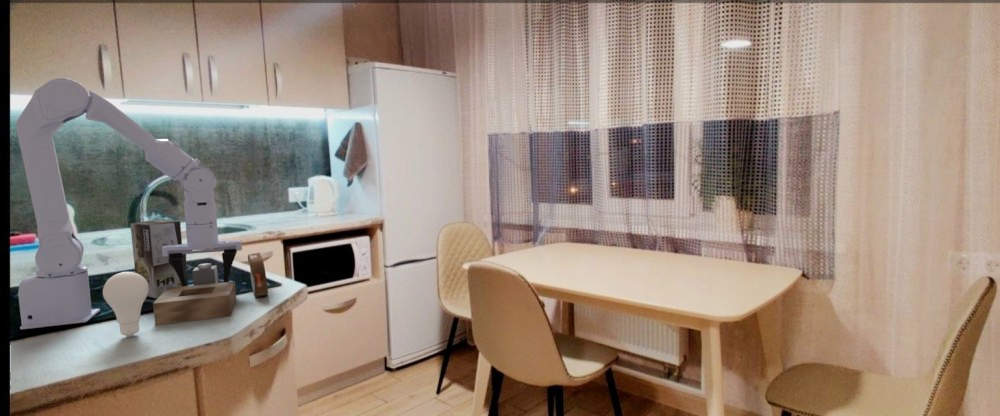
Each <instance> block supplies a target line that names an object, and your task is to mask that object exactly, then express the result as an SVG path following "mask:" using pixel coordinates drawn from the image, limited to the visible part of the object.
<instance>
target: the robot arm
mask: <svg viewBox="0 0 1000 416" xmlns="http://www.w3.org/2000/svg"><path fill="white" fill-rule="evenodd" d="M33 92H34V93H33V94H32V96H31V98H30V100H29V101H28V102H27V105H25V108H24V109H23V110H22V112H21V114H20V115H19V117H18V119H17V120H16V122H15V129H16V134H17V140H18V144H19V148H20V153H21V157H22V161H23V166H24V170H25V176H26V180H27V185H28V190H29V193H30V194H29V195H30V198H31V204H32V206H33V207H32V208H33V212H34V217H35V221H36V228H37V240H38V249H37V250H36V252H35V256H34V260H35V264H36V265H37V267H38V268H39V269H40V270H37V271H36V273H35V275H29V276H25V277H23V278H22V279H21V280H20V282H19V286H18V305H19V313H20V320H21V326H20V327H19V329H20V330H29V329H38V328H45V327H47V328H48V327H54V326H63V325H73V324H81V323H82V324H83V323H86V322H88V321H90V320H91V319H93V317H95V316H96V315H97V314H99V312H100V311H101V309H100V308H92V300H91V291H90V282H89V272H88V266H85V265H83V264H82V263H81V262H82V260H83V255H84V246H83V243H82V241H80V240H79V239H78V237H77V236H76V235H75V233H74V229H73V224H72V222H71V219H70V214H69V213H70V212H69V209H68V204H67V198H66V193H65V188H64V186H63V180H62V175H61V170H60V166H59V161H58V156H57V150H56V146H55V141H54V137H53V135H54V134H55V133H56V132H57V131H59V130H60V129H61V128H62V127H63V126H65V124H66V123H68V122H71V121H72V120H75V119H77V118H79V117H81V116H83V115H84V114H85V118H86V120H88V121H92V122H97V123H98V122H99V123H103V124H105V125H106V126H109V127H110V128H111V129H113V130H114V131H116V132H117V133H118V134H120V135H121V136H122V137H125V138H126V139H127V140H129V141H130V142H131V143H133V144H134V145H136V146H137V147H139V148H140V149H142V150H143V151H144V157H145V161H146V162H147V163H149V164H150V165H152V166H153V167H154V168H156V169H157V170H159V171H160V172H161V173H163V174H165V175H166V176H167V177H169V179H172V181H179V185H180V186H181V188H182V189H183V193H184V202H183V208H184V222H185V233H186V234H185V235H186V243H182V244H179V245H170V246H163V247H162V255H163V256H169V259H168V261H169V263H170V264H171V265H172V267H173V268H174V270H175V271H176V273H177V275H178V277H179V279H180V282H181V284H182V286H189V280H188V279H189V278H188V274H187V273H188V272H187V255H192V254H193V255H194V254H205V253H219V252H222V254H221V257H222V266H223V282H230V275H231V269H232V266H233V263H234V260H235V257H236V256H237V252H238V251H242V250H243V242H242V241H243V240H221V241H220V240H219V233H218V232H219V231H218V230H219V229H218V222H217V206H216V205H217V204H216V200H215V190H214V189H215V188H216V186H217V184H218V183H217V181H218V180H217V179H216V177H215V174H214V172H212V170H210V169H209V168H206V167H205V166H201V165H199V164H201V160H200V159H198V158H195V159H194V158H193V156H192V157H191V155H189V154H188V153H187V152H185V151H184V150H182V149H181V148H180V147H181V144H180V143H179V142H177V141H173V142H172V141H171V140H169V139H167V138H159V139H158V138H156V137H154V135H152V134H151V133H149V131H147V130H145V129H144V128H143V127H142V126H141V125H139V124H138V123H137V122H135V121H134V120H133V119H132V118H130V117H129V116H128V115H126V114H125V113H124V112H123V111H122V110H120V109H119V108H118V107H116V106H115V105H114V104H113V103H112V102H110V101H108V100H107V99H105V98H103V97H102V96H101V95H99V94H98V93H95V92H94V91H93V90H90V89H89V93H88V91H87V89H86V87H84V86H83V85H82V83H80V82H78V81H76V80H74V79H71V78H66V77H58V78H53V79H50V80H49V81H48V82H46V83H44V84H42V85H41V86H39V87H38V88H37V89H35V90H34V91H33Z"/></svg>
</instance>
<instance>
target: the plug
mask: <svg viewBox="0 0 1000 416" xmlns="http://www.w3.org/2000/svg"><path fill="white" fill-rule="evenodd" d="M218 277H219V276H218V266H217V264H216V265H212V263H211V262H210V263H208V262H207V263H200V264H198V265H197V266H196V267H194V268H193V269H192V284H193V285H202V284H213V283H219V278H218Z"/></svg>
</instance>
